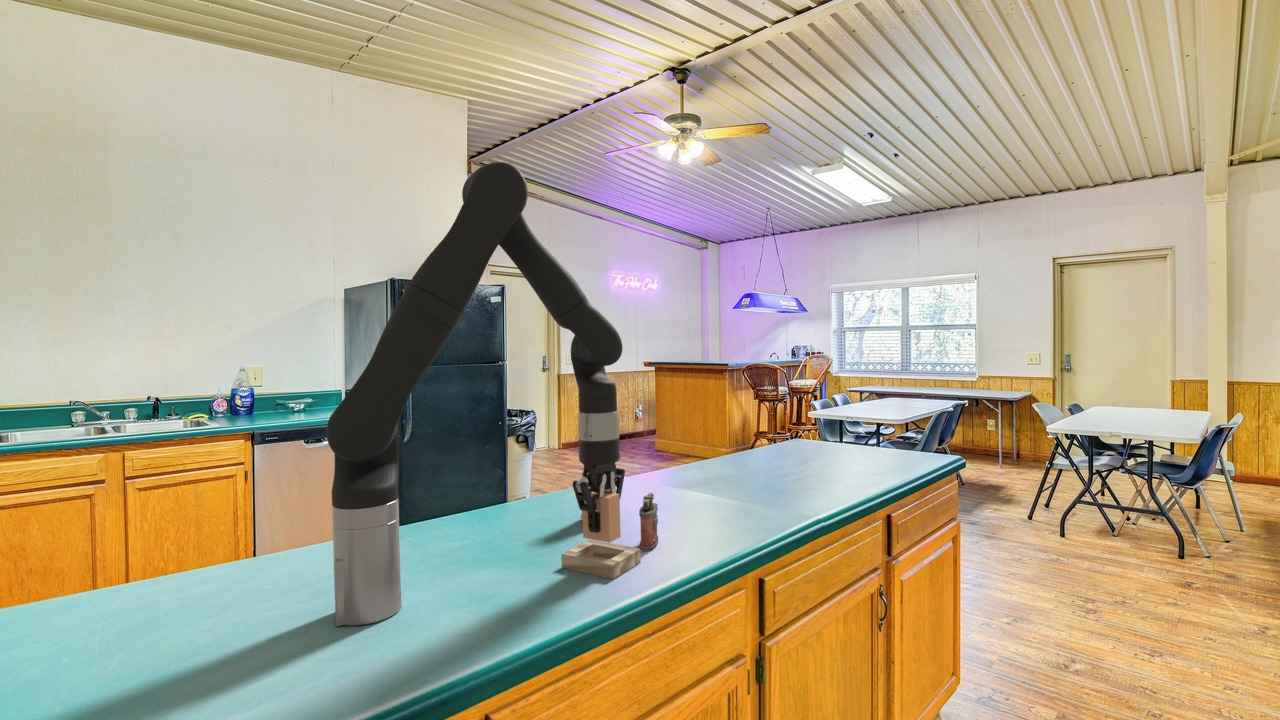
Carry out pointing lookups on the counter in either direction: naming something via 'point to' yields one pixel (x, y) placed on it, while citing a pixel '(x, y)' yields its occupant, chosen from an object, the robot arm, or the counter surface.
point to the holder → (601, 558)
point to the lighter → (648, 523)
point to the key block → (605, 519)
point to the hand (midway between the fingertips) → (601, 528)
